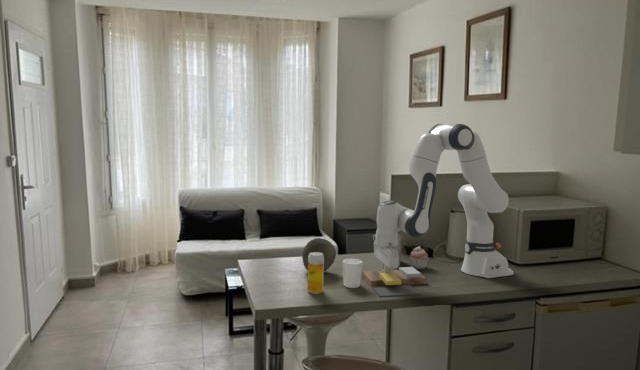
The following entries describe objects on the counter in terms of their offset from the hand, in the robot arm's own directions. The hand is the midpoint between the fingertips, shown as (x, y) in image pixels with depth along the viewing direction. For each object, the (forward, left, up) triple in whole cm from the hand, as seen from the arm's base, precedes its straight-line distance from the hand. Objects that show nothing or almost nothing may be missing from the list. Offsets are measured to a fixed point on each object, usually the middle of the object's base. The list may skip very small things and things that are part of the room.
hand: (385, 273), depth 197 cm
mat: (0, +11, -4) cm, 12 cm away
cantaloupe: (+25, -16, -4) cm, 30 cm away
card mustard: (0, +6, -1) cm, 6 cm away
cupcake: (-22, -17, -4) cm, 28 cm away
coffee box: (-13, -25, -4) cm, 28 cm away
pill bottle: (+31, +7, -4) cm, 32 cm away
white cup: (+15, +2, -4) cm, 16 cm away
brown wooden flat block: (-4, -1, -4) cm, 5 cm away
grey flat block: (-11, -1, -1) cm, 11 cm away
